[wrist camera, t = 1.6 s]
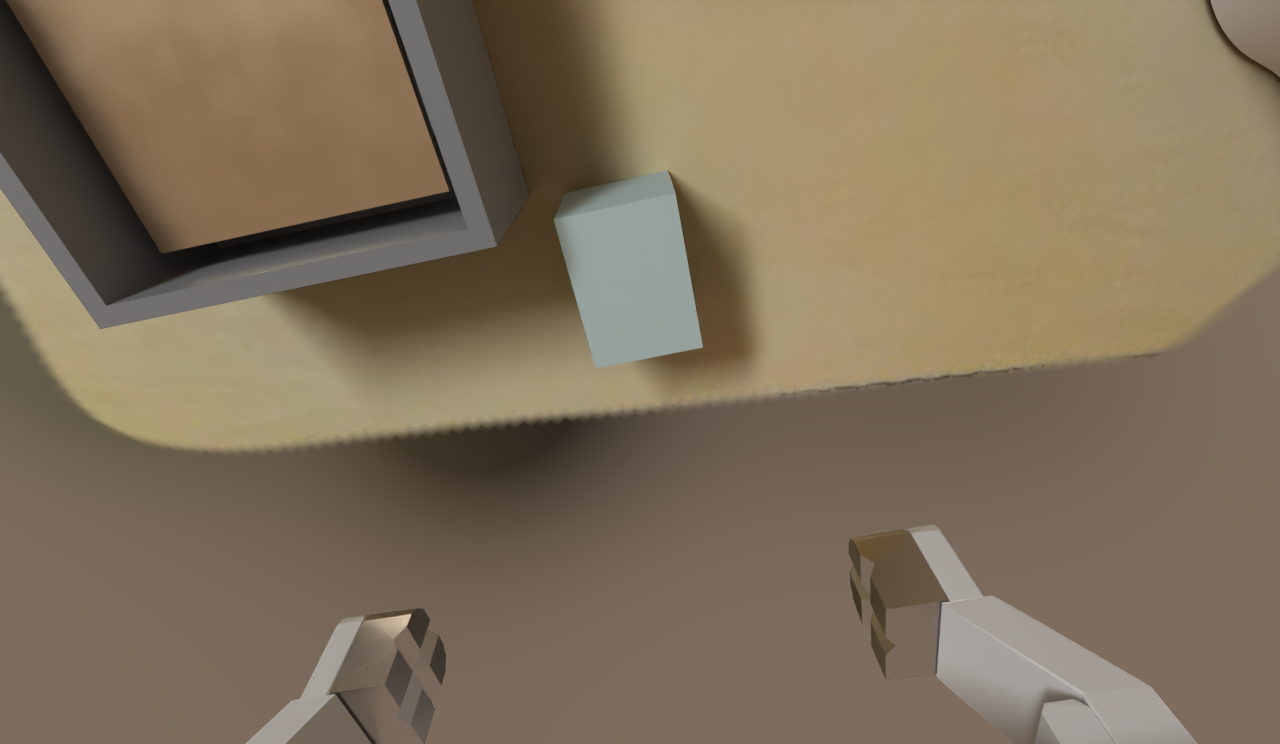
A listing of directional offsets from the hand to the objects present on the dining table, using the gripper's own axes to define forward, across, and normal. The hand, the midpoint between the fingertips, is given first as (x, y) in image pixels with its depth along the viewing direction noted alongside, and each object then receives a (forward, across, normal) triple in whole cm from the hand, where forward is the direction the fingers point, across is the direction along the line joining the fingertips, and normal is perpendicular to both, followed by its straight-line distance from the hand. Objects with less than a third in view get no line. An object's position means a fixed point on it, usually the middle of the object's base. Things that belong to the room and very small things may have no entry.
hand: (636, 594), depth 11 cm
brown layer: (+20, +12, -12) cm, 26 cm away
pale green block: (+21, 0, 0) cm, 21 cm away
